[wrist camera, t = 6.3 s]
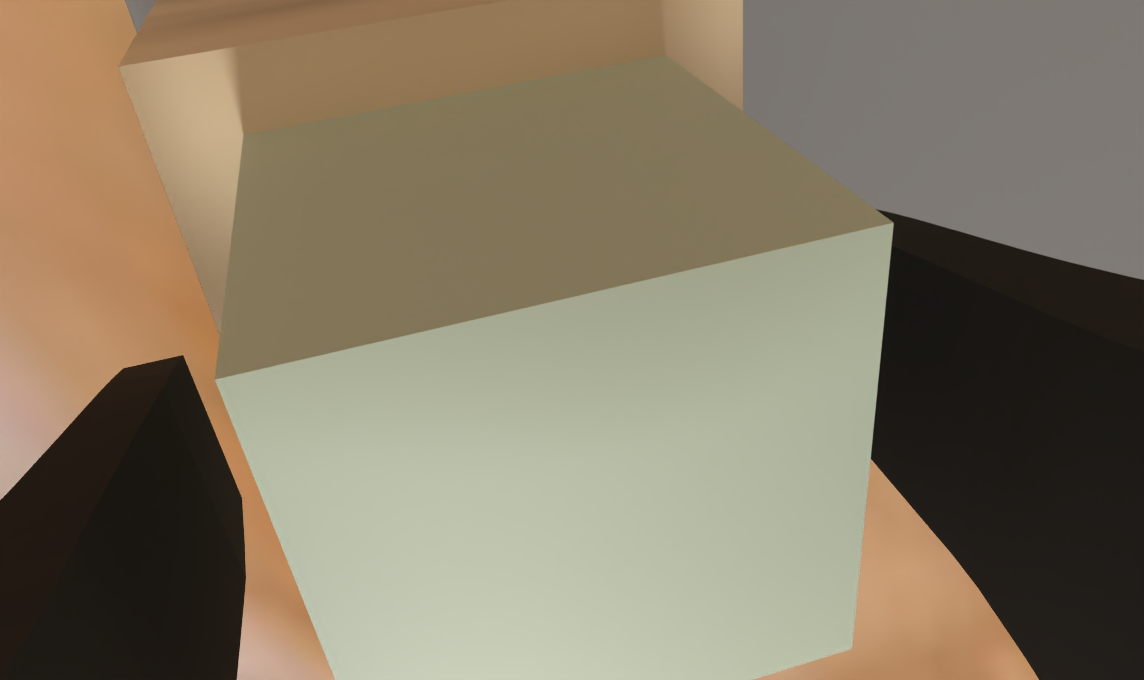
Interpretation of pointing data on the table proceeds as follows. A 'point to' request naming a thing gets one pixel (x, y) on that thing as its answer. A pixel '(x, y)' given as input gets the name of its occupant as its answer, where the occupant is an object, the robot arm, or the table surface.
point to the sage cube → (558, 381)
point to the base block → (370, 74)
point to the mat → (962, 112)
